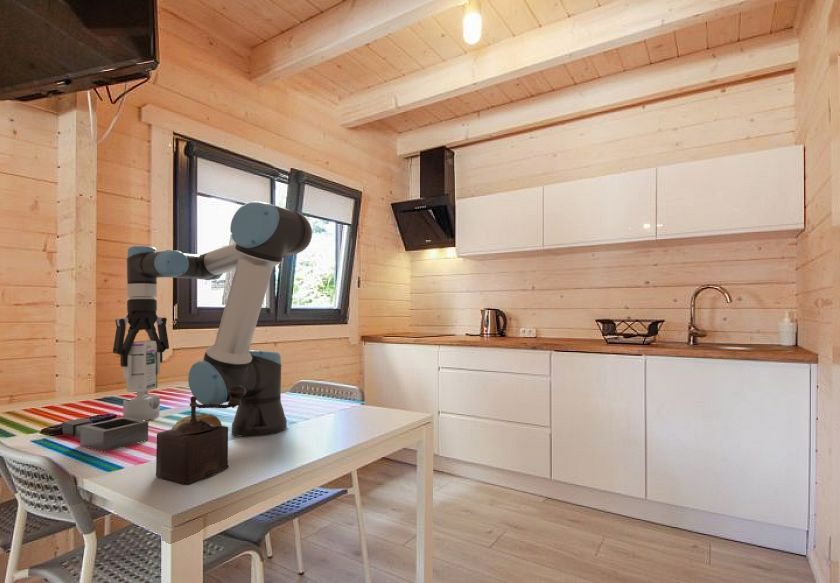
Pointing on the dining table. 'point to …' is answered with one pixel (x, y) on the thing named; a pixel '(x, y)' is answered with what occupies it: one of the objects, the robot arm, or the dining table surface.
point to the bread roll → (205, 417)
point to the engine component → (142, 406)
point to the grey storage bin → (107, 432)
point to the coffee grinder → (195, 445)
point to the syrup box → (143, 366)
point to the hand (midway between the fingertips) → (142, 375)
